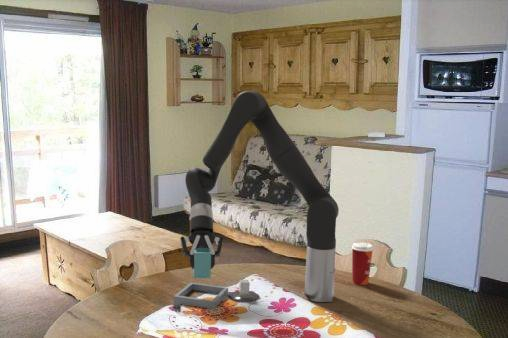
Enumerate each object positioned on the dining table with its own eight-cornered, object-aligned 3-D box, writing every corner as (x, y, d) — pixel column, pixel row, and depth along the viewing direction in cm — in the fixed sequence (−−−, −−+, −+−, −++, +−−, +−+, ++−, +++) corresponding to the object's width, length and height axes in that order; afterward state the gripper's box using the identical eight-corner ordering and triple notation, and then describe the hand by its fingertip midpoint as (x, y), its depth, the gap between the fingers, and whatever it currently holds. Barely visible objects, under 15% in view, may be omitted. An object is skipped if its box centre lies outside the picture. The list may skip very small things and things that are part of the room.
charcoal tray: (227, 298, 163) (228, 287, 162) (213, 313, 150) (214, 302, 150) (190, 292, 166) (190, 282, 166) (173, 307, 154) (173, 296, 153)
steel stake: (256, 294, 166) (257, 275, 166) (262, 306, 157) (262, 286, 156) (226, 295, 165) (227, 276, 164) (229, 307, 155) (230, 287, 154)
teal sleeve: (209, 272, 160) (210, 248, 159) (210, 278, 155) (211, 252, 154) (193, 272, 159) (194, 248, 158) (193, 278, 154) (194, 252, 153)
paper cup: (373, 286, 178) (375, 248, 176) (351, 285, 178) (353, 247, 177) (368, 279, 186) (371, 242, 184) (347, 278, 186) (350, 241, 184)
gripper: (179, 214, 161) (179, 262, 151) (224, 214, 164) (226, 262, 153) (179, 226, 167) (178, 273, 157) (222, 226, 169) (224, 273, 159)
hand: (202, 267), depth 155 cm, fingers closed on teal sleeve, 5 cm apart
